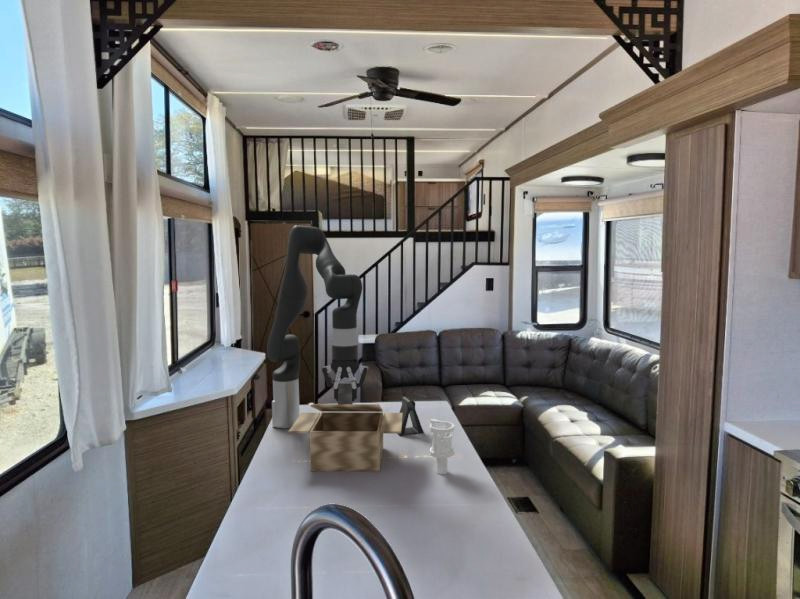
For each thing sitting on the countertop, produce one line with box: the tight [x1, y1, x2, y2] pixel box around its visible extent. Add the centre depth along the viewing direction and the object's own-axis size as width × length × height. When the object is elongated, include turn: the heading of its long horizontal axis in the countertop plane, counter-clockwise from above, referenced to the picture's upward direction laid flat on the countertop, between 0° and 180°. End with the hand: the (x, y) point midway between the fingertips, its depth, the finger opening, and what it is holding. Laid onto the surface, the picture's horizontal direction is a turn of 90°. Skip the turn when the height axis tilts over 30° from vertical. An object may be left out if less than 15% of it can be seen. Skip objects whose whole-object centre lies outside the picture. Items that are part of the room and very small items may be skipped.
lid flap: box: [310, 383, 384, 413], centre depth 157 cm, size 20×18×7 cm
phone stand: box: [396, 395, 424, 437], centre depth 180 cm, size 9×6×12 cm, turn 108°
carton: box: [288, 411, 403, 473], centre depth 156 cm, size 33×18×12 cm, turn 88°
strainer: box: [429, 418, 455, 475], centre depth 147 cm, size 7×7×15 cm
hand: (345, 400), depth 150 cm, fingers closed on lid flap, 4 cm apart
